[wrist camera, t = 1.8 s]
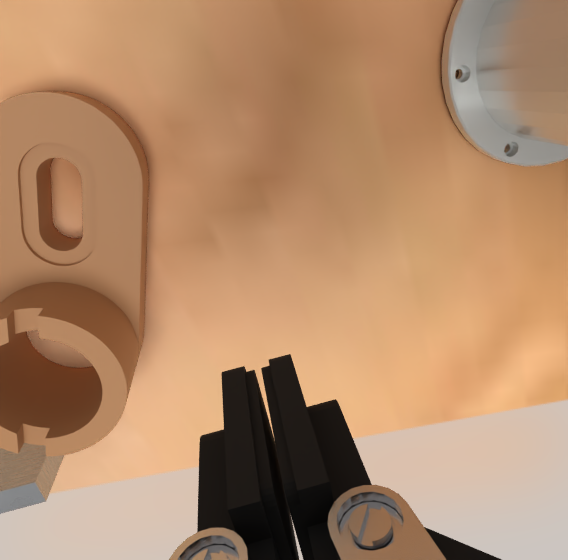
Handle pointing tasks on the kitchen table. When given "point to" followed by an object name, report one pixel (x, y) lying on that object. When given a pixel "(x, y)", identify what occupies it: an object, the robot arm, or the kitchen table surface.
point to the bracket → (69, 271)
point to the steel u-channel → (26, 476)
